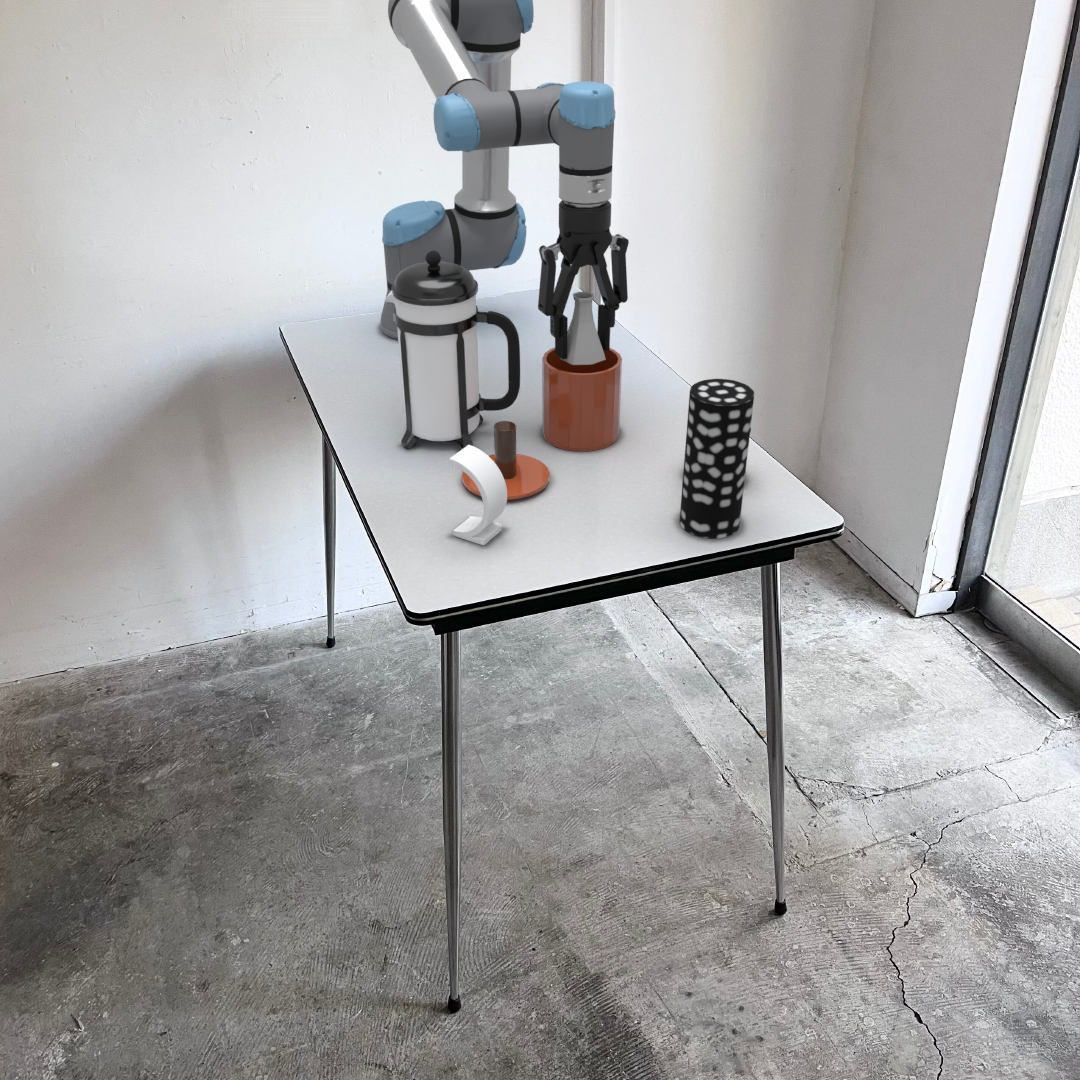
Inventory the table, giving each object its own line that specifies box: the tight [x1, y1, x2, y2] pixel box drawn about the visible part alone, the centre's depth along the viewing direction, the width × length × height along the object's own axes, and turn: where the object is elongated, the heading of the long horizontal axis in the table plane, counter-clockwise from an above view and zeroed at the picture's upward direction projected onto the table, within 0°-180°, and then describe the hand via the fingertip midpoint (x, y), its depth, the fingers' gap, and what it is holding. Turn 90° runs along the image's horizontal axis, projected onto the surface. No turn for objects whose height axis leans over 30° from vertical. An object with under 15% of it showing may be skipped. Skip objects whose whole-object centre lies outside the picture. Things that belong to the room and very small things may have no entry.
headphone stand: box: [448, 445, 508, 546], centre depth 147 cm, size 5×6×12 cm
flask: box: [560, 291, 606, 365], centre depth 165 cm, size 7×7×10 cm
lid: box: [461, 420, 551, 501], centre depth 160 cm, size 13×13×9 cm
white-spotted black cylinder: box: [679, 378, 755, 540], centre depth 147 cm, size 8×8×20 cm
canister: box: [541, 346, 623, 452], centre depth 172 cm, size 12×12×13 cm
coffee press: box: [384, 251, 521, 450], centre depth 167 cm, size 17×16×30 cm
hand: (582, 351), depth 167 cm, fingers closed on flask, 7 cm apart
